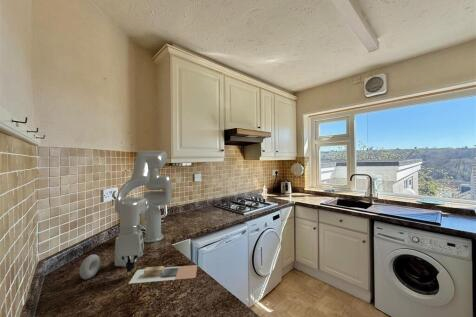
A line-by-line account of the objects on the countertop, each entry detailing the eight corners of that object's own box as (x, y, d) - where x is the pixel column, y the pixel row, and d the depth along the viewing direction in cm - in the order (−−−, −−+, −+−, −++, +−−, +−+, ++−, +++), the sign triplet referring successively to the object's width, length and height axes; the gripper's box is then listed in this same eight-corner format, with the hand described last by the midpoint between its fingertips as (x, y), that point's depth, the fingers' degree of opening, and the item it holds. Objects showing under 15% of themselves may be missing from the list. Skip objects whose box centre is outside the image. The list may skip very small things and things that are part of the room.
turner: (142, 279, 84) (142, 272, 84) (147, 271, 90) (146, 265, 90) (176, 276, 86) (175, 270, 86) (178, 269, 92) (178, 263, 92)
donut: (95, 270, 93) (94, 250, 93) (102, 270, 93) (101, 250, 93) (77, 284, 83) (77, 261, 83) (85, 284, 83) (84, 261, 83)
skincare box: (114, 268, 95) (113, 238, 95) (123, 261, 101) (122, 233, 101) (129, 269, 94) (129, 239, 94) (137, 262, 100) (137, 234, 100)
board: (137, 272, 92) (137, 269, 92) (197, 267, 95) (197, 265, 95) (128, 286, 82) (128, 283, 82) (195, 280, 85) (195, 277, 85)
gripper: (150, 225, 91) (150, 264, 91) (116, 227, 89) (116, 266, 89) (144, 231, 83) (145, 273, 83) (107, 233, 81) (107, 276, 81)
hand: (130, 270), depth 86 cm, fingers closed
